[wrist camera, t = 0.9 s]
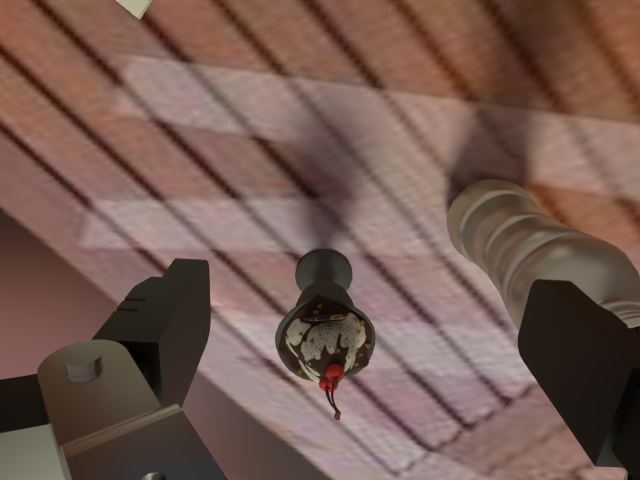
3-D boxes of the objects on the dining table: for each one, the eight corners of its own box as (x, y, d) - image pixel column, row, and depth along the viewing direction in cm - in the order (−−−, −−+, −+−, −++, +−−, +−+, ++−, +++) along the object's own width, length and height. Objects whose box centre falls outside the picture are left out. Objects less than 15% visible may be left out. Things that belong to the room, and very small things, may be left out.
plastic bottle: (424, 226, 38) (524, 385, 20) (473, 156, 36) (637, 260, 17) (486, 261, 39) (635, 442, 21) (537, 196, 37) (754, 332, 19)
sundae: (331, 321, 42) (337, 454, 28) (271, 281, 40) (245, 400, 26) (378, 269, 40) (410, 383, 26) (316, 225, 38) (315, 321, 24)
